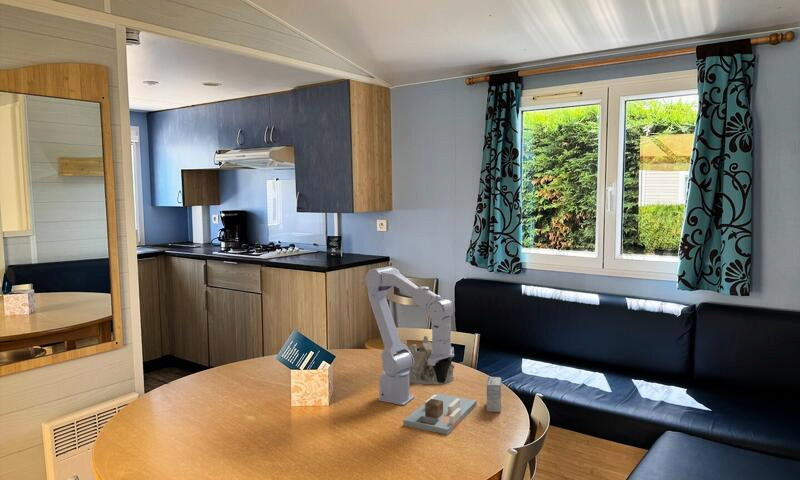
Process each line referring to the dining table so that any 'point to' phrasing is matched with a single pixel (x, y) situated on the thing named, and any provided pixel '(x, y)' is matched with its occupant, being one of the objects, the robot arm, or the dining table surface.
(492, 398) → the medicine box
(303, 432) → the dining table surface
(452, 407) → the deck
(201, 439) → the dining table surface
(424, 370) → the ceramic cottage
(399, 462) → the dining table surface
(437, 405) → the block
